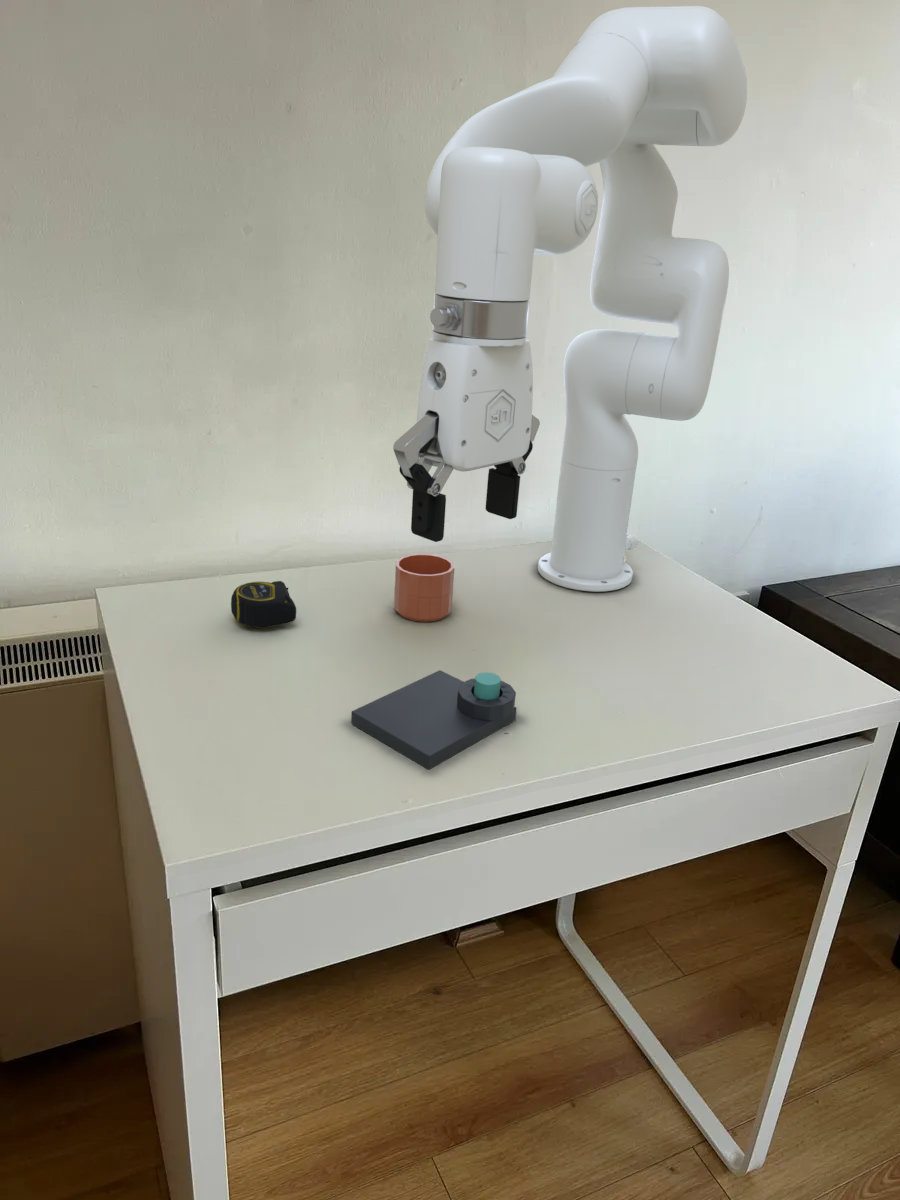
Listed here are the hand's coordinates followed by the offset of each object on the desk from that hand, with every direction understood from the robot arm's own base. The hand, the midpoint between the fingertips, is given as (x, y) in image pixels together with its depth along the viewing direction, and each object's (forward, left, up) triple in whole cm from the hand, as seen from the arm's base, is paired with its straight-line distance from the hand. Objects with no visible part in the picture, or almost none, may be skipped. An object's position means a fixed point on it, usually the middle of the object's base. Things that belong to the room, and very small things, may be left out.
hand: (465, 525), depth 78 cm
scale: (+2, 0, -19) cm, 19 cm away
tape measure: (0, -28, -19) cm, 34 cm away
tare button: (-2, +3, -16) cm, 17 cm away
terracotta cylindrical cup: (-15, -18, -19) cm, 30 cm away
